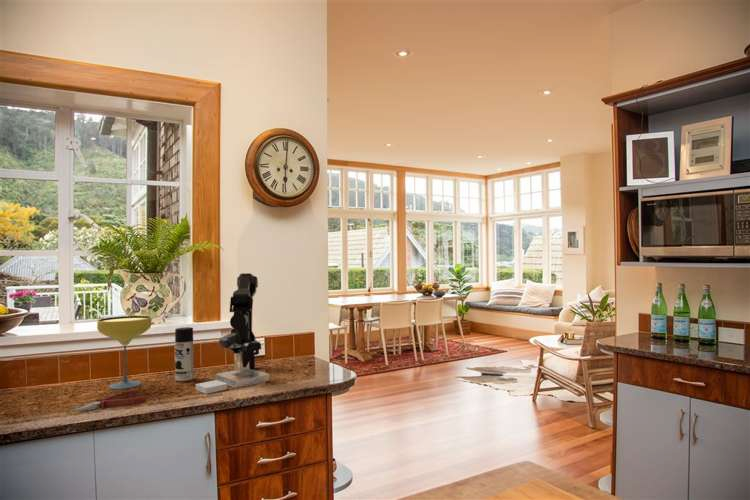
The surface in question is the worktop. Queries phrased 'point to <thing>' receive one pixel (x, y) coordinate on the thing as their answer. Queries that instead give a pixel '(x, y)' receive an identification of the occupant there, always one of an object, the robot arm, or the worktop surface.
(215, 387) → the soap bar
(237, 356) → the peg
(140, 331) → the cocktail glass
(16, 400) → the worktop surface
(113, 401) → the pliers
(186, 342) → the spray can
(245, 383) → the plate
